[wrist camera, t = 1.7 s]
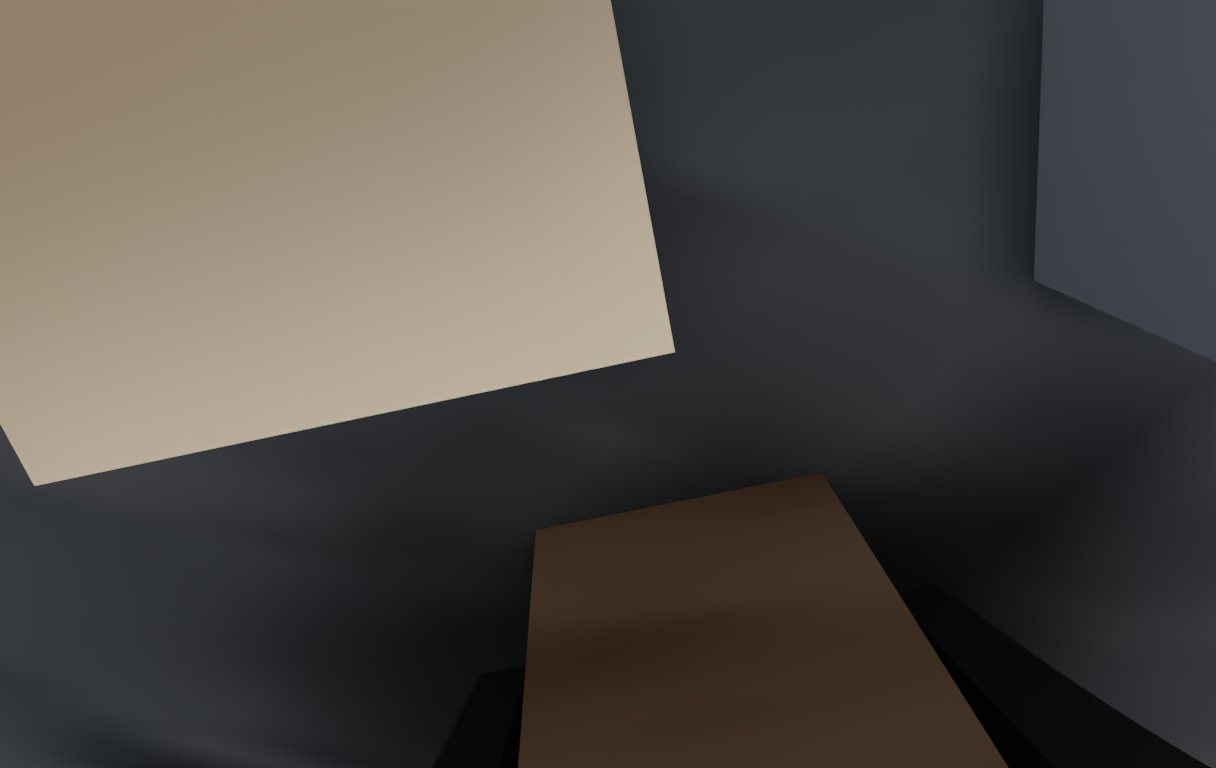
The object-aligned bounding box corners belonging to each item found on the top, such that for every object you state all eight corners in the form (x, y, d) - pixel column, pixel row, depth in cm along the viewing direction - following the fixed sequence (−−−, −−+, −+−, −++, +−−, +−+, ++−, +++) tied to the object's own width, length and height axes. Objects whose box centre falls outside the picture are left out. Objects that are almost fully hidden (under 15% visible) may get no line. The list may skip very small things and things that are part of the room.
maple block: (621, 212, 9) (674, 352, 5) (296, 282, 9) (35, 486, 5) (543, -183, 8) (509, -552, 3) (158, -95, 8) (-415, -327, 3)
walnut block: (846, 693, 12) (1016, 1075, 8) (594, 741, 12) (611, 1145, 8) (820, 470, 11) (1013, 773, 6) (535, 528, 11) (509, 868, 6)
